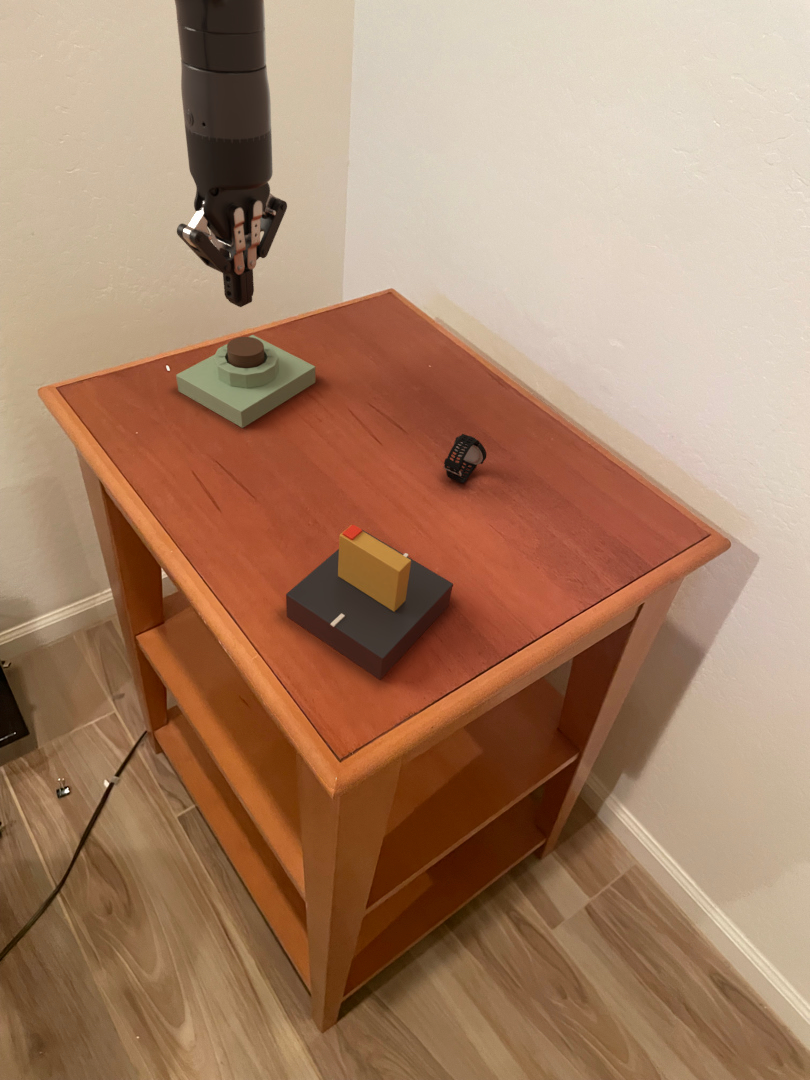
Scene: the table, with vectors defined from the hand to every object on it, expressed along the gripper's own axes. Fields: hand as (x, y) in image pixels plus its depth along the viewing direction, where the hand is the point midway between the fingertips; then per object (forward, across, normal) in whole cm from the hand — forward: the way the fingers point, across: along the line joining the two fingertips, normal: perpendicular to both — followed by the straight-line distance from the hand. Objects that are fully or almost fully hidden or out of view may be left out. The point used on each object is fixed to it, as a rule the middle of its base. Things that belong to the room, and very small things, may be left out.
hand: (240, 302), depth 77 cm
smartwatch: (+11, +3, -27) cm, 29 cm away
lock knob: (+8, -17, -31) cm, 36 cm away
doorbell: (+11, 0, 0) cm, 11 cm away
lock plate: (+11, -17, -31) cm, 37 cm away
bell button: (+7, 0, 0) cm, 7 cm away
